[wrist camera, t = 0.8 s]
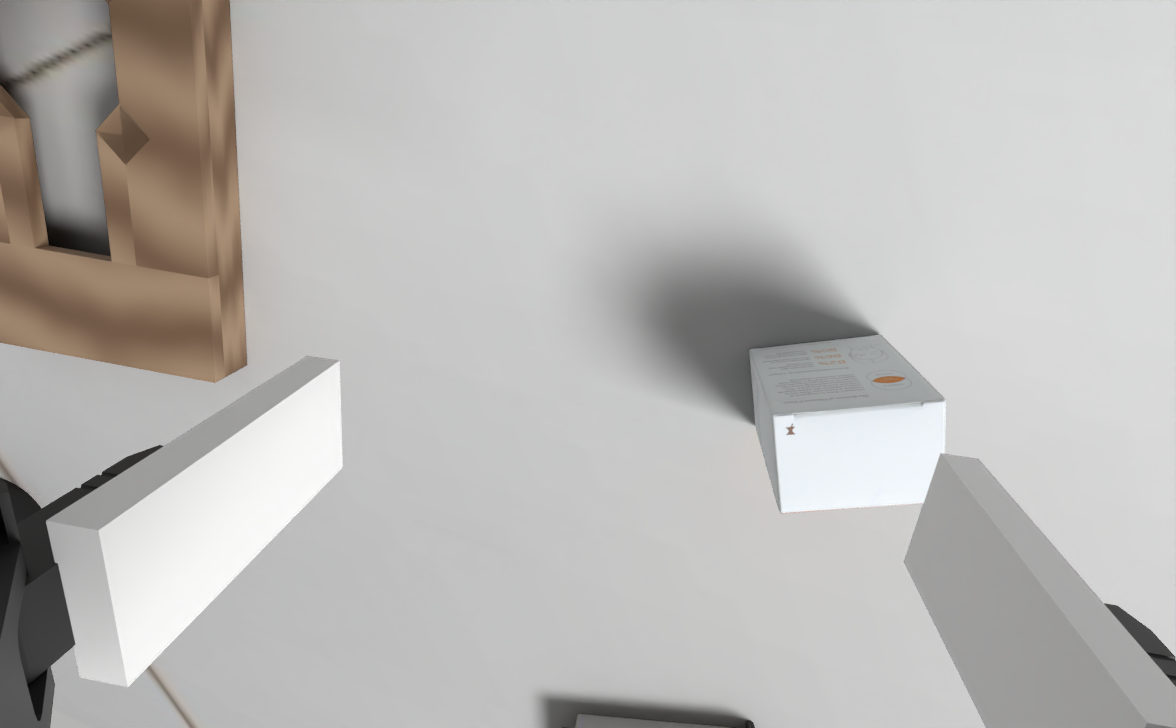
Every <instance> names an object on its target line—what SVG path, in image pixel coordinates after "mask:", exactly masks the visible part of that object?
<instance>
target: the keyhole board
mask: <svg viewBox="0 0 1176 728" xmlns="http://www.w3.org/2000/svg"><path fill="white" fill-rule="evenodd" d="M106 1H107V2H108V4H109V12H110V22H111V31H112V41H113V50H114V60H115V69H116V79H117V88H118V98H119V105H118V106H117V107H116V108H115V109H114V110H113V111H112V112H111V114H110V115H109V116H108V117H107V118H106V119H105V120H104V121H103V123H102V124H101V125H100V126H99V127H98V128H97V129H96V134H97V143H98V151H99V160H100V168H101V176H102V185H103V193H104V202H105V210H106V218H107V227H108V235H109V244H110V252H111V256H106V255H101V254H95V253H89V252H83V251H78V250H72V249H66V248H60V247H55V246H49V243H48V236H47V229H46V223H45V216H44V210H43V203H42V196H41V190H40V183H39V177H38V170H37V163H36V157H35V150H34V144H33V137H32V131H31V124H30V117H29V116H28V115H27V114H26V113H25V112H24V110H23V109H22V108H21V107H20V106H19V105H18V104H17V103H16V102H15V100H14V99H13V98H12V97H11V96H10V95H9V94H8V93H7V92H6V90H5V89H4V88H3V87H2V86H1V85H0V343H5V344H10V345H16V346H21V347H27V348H32V349H37V350H43V351H48V352H53V353H59V354H64V355H69V356H75V357H80V358H85V359H91V360H96V361H101V362H107V363H112V364H117V365H123V366H128V367H134V368H139V369H144V370H150V371H155V372H160V373H166V374H171V375H176V376H182V377H187V378H192V379H198V380H203V381H208V382H214V383H216V382H218V381H219V380H221V379H223V378H225V377H227V376H228V375H230V374H232V373H234V372H236V371H237V370H239V369H241V368H243V367H245V366H246V365H247V354H246V333H245V312H244V292H243V271H242V250H241V230H240V209H239V188H238V167H237V147H236V126H235V105H234V85H233V64H232V43H231V22H230V2H229V0H106Z"/></svg>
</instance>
